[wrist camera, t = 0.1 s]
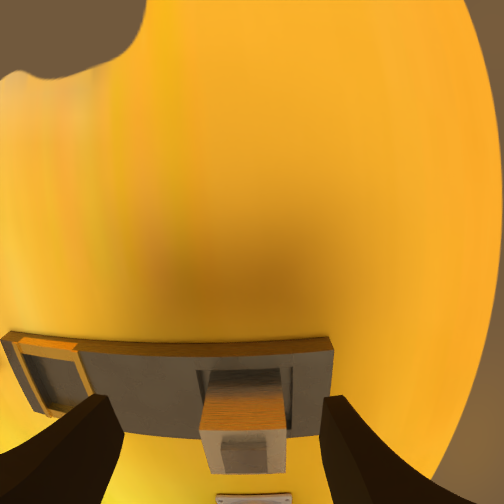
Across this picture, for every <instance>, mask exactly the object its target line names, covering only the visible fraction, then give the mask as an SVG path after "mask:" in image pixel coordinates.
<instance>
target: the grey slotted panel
mask: <svg viewBox="0 0 504 504" xmlns="http://www.w3.org/2000/svg"><path fill="white" fill-rule="evenodd" d="M0 341H1V343H2V346H3V348H4V351H5V353H6V356H7V358H8V360H9V363H10V365H11V367H12V369H13V372H14V374H15V376H16V378H17V380H18V382H19V384H20V386H21V388H22V390H23V392H24V394H25V396H26V398H27V400H28V402H29V403H30V405H31V407H32V409H33V411H35V412H38V413H41V414H45V415H46V416H47V417H50V418H51V417H56V418H59V419H60V418H61V417H62V416H64V415H65V414H66V413H68V412H69V411H70V410H72V409H73V408H74V407H76V406H77V405H78V404H79V403H81V402H82V401H83V400H85V399H86V398H88V397H89V396H91V395H92V394H93V393H94V394H100V395H108V397H109V400H110V402H111V405H112V407H113V409H114V412H115V414H116V416H117V418H118V421H119V423H120V425H121V427H122V429H123V432H129V433H136V434H143V435H152V436H161V437H172V438H186V439H201V436H200V433H199V426H200V421H201V416H202V411H203V406H204V401H205V397H206V392H207V387H208V382H209V377H210V372H211V370H243V369H267V368H280V373H281V382H282V391H283V400H284V410H285V419H286V438H293V437H304V436H314V435H319V433H320V425H321V417H322V408H323V398H324V397H329V396H330V387H331V378H332V368H333V357H334V348H333V346H332V343H331V341H330V339H329V337H321V338H309V339H297V340H282V341H265V342H242V343H138V342H116V341H99V340H86V339H74V338H63V337H53V336H44V335H36V334H28V333H20V332H13V331H10V332H8V333H7V334H6V335H5V336H3V337H2V338H1V339H0Z"/></svg>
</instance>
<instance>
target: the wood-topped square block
mask: <svg viewBox="0 0 504 504" xmlns="http://www.w3.org/2000/svg"><path fill="white" fill-rule="evenodd" d="M199 433H200V436H201V440H202V444H203V447H204V451H205V454H206V458H207V461H208V465H209V468H210V471H211V474H273V473H285V470H286V419H285V410H284V400H283V391H282V382H281V373H280V368H267V369H243V370H211V372H210V377H209V382H208V387H207V392H206V397H205V401H204V406H203V411H202V416H201V421H200V426H199Z"/></svg>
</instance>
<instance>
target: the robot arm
mask: <svg viewBox="0 0 504 504" xmlns="http://www.w3.org/2000/svg"><path fill="white" fill-rule="evenodd" d="M124 435H125V434H124V432H123V429H122V427H121V425H120V423H119V421H118V418H117V416H116V414H115V412H114V409H113V407H112V405H111V402H110V400H109V397H108V395H100V394H94V393H93V394H92V395H91V396H89V397H88V398H86V399H85V400H83V401H82V402H81V403H79V404H78V405H77V406H76V407H74V408H73V409H72V410H70V411H69V412H68V413H66V414H65V415H64V416H62V417H61V418H60V419H58V420H57V421H56V422H54V423H53V424H52V425H50V426H49V427H47V428H46V429H44V430H43V431H41V432H40V433H38V434H37V435H35V436H34V437H32V438H31V439H29V440H28V441H26V442H24V443H22V444H21V445H19V446H17V447H15V448H13V449H11V450H9V451H7V452H5V453H2V454H0V504H101V501H102V499H103V496H104V494H105V491H106V489H107V486H108V484H109V481H110V479H111V476H112V474H113V471H114V469H115V466H116V464H117V461H118V459H119V456H120V452H121V448H122V444H123V439H124ZM319 441H320V448H321V456H322V462H323V466H324V470H325V474H326V478H327V481H328V485H329V489H330V492H331V496H332V500H333V503H334V504H476V503H473V502H471V501H469V500H466V499H464V498H462V497H460V496H458V495H456V494H454V493H452V492H450V491H448V490H446V489H445V488H443V487H441V486H439V485H437V484H435V483H434V482H433V481H431V480H429V479H428V478H426V477H425V476H423V475H422V474H421V473H419V472H418V471H417V470H415V469H414V468H412V467H411V466H410V465H409V464H407V463H406V462H405V461H404V460H403V459H401V458H400V457H399V456H398V455H397V454H396V453H395V452H394V451H393V450H391V449H390V448H389V447H388V446H387V445H386V444H385V443H384V442H383V441H382V440H381V439H380V438H379V437H378V436H377V435H376V433H375V432H374V431H373V430H372V429H371V428H370V427H369V426H368V425H367V424H366V423H365V421H364V420H363V419H362V418H361V417H360V415H359V414H358V413H357V412H356V411H355V409H354V408H353V407H352V406H351V404H350V403H349V402H348V400H347V399H346V398H345V397H344V396H343V395H338V396H330V397H324V398H323V408H322V417H321V425H320V433H319ZM216 502H217V504H292V495H291V494H275V495H217V496H216Z"/></svg>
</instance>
